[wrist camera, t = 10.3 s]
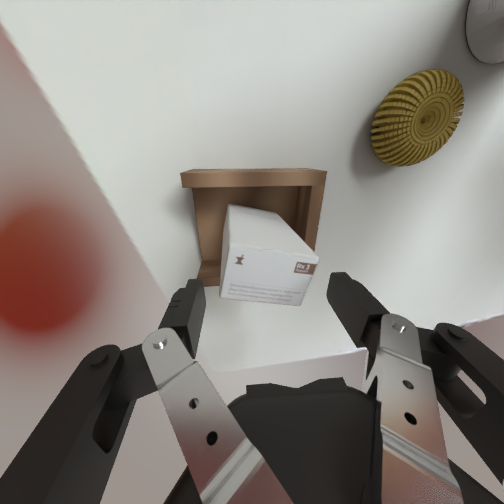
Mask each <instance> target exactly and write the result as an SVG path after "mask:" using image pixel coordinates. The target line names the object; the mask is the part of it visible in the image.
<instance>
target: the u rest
mask: <svg viewBox="0 0 504 504" xmlns="http://www.w3.org/2000/svg"><path fill="white" fill-rule="evenodd" d="M326 174H327V171H321V170H314V169H308V168H297V169H192V170H188V171H185V172H182V173H180V175H181V181H182V188H192V191H193V198H194V205H195V212H196V219H197V227H198V234H199V241H200V248H201V255H202V263H201V267H200V270H199V273H198V277H197V279H202V281H203V286H204V287H207V286H220V281H221V279H220V276H221V260H222V245H223V230H224V224H225V218H226V213H227V207H228V204H229V203H231V204H236V205H241V206H246V207H251V208H255V209H260V210H265V211H270V212H275V213H277V214H278V215H279V216H280V217H281V218H282V219H283V220H284V221H285V222H286V223H287V224H288V226H289V227H290V228H291V229H292V230H293V231H294V232H295V233H296V234H297V235H298V236H299V237H300V238H301V239H302V240H303V241H304V242H305V243H306V244H307V245H308V246H309V247H310V248H311V249H312V251H313V252H314V249H315V243H316V237H317V231H318V224H319V218H320V212H321V205H322V199H323V193H324V187H325V180H326Z"/></svg>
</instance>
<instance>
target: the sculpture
mask: <svg viewBox="0 0 504 504" xmlns="http://www.w3.org/2000/svg"><path fill="white" fill-rule="evenodd" d="M426 83H427V84H426ZM433 84H434V85H433ZM462 95H463V90H462V86H461V84H460V83H459V80H458V79H457V78H456V77H455V76H454V75H453V74H451V73H449V72H448V71H444V70H440V69H438V70H437V69H433V70H432V69H431V70H425V71H422V72H418V73H415V74H414V75H412V76H409V77H408V78H406V79H404V80H403V81H402V82H400V83H399V84H398V85H397V86H395V88H394V89H393V90H391V92H389V93H388V95H387V96H386V97H385V98H384V100H383V101H382V103H381V106H379V108H378V110H377V113H376V114H375V116H374V120H375V121H373V123H372V126H373V127H381V128H376V129H371V133H373V132H378V133H375V134H373V135H372V136H371V140H373V141H372V142H371V144H372V146H373V149H374V152H376V155H377V157H379V159H380V160H381V161H383V162H384V163H386V164H389V165H392V166H410V165H413V164H415V163H416V164H417V163H419V162H421V161H423V160H425V159H427V158H429V157H430V156H432V155H433V154H435V153H436V151H438V150H439V149H440V148H442V146H443V145H444V144H445V143H446V142H447V141H448V139H449V138H450V137H451V136H452V134H453V131H455V129H456V127H457V125H456V124H458V123H459V121H460V118H452V117H457V116H461V115H462V112H458V113H455V112H457V111H459V110H461V109H463V106H464V104H462V103H463V102H464V97H463V96H462ZM386 115H387V116H386ZM380 117H381V118H380ZM382 118H383V119H382ZM383 123H384V124H383ZM391 129H392V130H391ZM432 129H433V130H432ZM379 131H381V132H379ZM379 139H380V140H379ZM378 140H379V141H378ZM377 141H378V142H377Z"/></svg>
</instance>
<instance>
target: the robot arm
mask: <svg viewBox="0 0 504 504" xmlns="http://www.w3.org/2000/svg"><path fill="white" fill-rule="evenodd" d="M466 36H467V40H468V45H469V47H470V49H471V51H472V53H473V55H474V56H475V57H476V58H477V59H478V60H480V61H482V62H485V63H494V64H496V63H500V62H504V0H470V3H469V7H468V13H467V21H466ZM327 299H328V302H329V304H330V305H331V307H332V308H333V310H334V312H335V313H336V315H337V316H338V318H339V320H340V321H341V323H342V324H343V326H344V328H345V329H346V331H347V332H348V334H349V336H350V337H351V339H352V341H353V342H354V344H355V345H356V347H357V348H360V347H366V348H367V349H368V352H367V355H366V363H365V371H364V379H363V386H362V390H361V391H360V390H357V389H355V388H352V387H349V386H347V385H346V383H345V381H344V379H343V378H342V377H340V378H328V379H319V380H316V381H314V382H312V383H309V384H307V385H304V386H302V387H300V388H292V387H287V386H282V385H277V384H272V383H269V384H256V385H247V386H246V391H247V393H246V394H244V395H241V396H240V397H238V398H236V399H235V400H233V401H232V402H231V403H230V404H229V405H228V406H226V404H225V403H224V401H223V399H222V398H221V396H220V395H219V393H218V392H217V390H216V389H215V387H214V386H213V384H212V382H211V381H210V379H209V378H208V376H207V375H206V373H205V372H204V370H203V369H202V367H201V365H200V364H199V363H198V362H197V361H195V362H194V360H193V359H195V356H196V352H197V347H198V342H199V337H200V332H201V327H202V322H203V317H204V313H205V307H206V299H205V293H204V286H203V281H202V279H189V280H188V282H187V285H186V288H180V289H179V290H178V291H176V292H175V293H174V295H173V297H172V299H171V302H170V303H169V306H168V308H167V310H166V312H165V315H164V317H163V319H162V321H161V323H160V325H159V328H158V330H156V331H154V332H152V333H151V334H149V335H148V336H147V338H146V339H145V340H144V342H143V343H142V344H140V345H137V346H134V347H131V348H128V349H125V350H122V351H121V350H120V348H119V347H118V346H116V345H105V346H102V347H100V348H97V349H95V350H94V351H92V352H91V353H89V354H88V355H87V356H86V357H85V358H84V359H83V360H82V361H81V362H80V364H79V365H78V367H77V368H76V370H75V371H74V373H73V374H72V375H71V377H70V378H69V380H68V381H67V383H66V384H65V386H64V387H63V389H62V390H61V391H60V393H59V394H58V396H57V397H56V399H55V400H54V402H53V403H52V404H51V406H50V407H49V409H48V410H47V412H46V413H45V415H44V416H43V418H42V419H41V420H40V422H39V423H38V425H37V426H36V428H35V429H34V431H33V432H32V433H31V435H30V436H29V438H28V439H27V441H26V442H25V444H24V445H23V446H22V448H21V449H20V451H19V452H18V454H17V455H16V457H15V458H14V459H13V461H12V463H11V464H10V465H9V467H8V468H7V470H6V471H5V473H4V474H3V475H2V477H1V478H0V504H100V501H101V499H102V496H103V493H104V490H105V487H106V485H107V482H108V479H109V476H110V473H111V470H112V467H113V465H114V462H115V459H116V456H117V454H118V451H119V448H120V445H121V442H122V439H123V437H124V434H125V431H126V428H127V425H128V423H129V419H130V417H131V414H132V411H133V409H134V405H135V403H136V400H137V399H138V398H141V397H143V396H145V395H148V394H150V393H153V392H155V391H157V390H158V391H159V394H160V397H161V399H162V402H163V404H164V407H165V409H166V412H167V414H168V417H169V420H170V422H171V424H172V426H173V429H174V432H175V435H176V437H177V440H178V442H179V445H180V447H181V450H182V452H183V455H184V457H185V460H186V462H187V467H186V469H185V470H184V472H183V474H182V475H181V477H180V478H179V480H178V481H177V483H176V484H175V486H174V488H173V489H172V491H171V492H170V494H169V496H168V497H167V499H166V500H165V502H164V504H504V503H503V502H502V501H501V500H499V499H498V498H497V497H496V496H494V495H493V494H492V493H491V492H489V491H488V490H487V489H486V488H484V487H483V486H482V485H481V484H479V483H478V482H477V481H476V480H475V479H473V478H472V477H471V476H470V475H468V474H467V473H466V472H465V471H463V470H462V469H461V468H460V467H458V466H457V465H456V464H455V463H453V462H452V461H451V460H450V459H449V458H448V457H447V451H446V446H445V440H444V435H443V429H442V424H441V418H440V413H439V407H438V402H439V403H440V404H441V406H442V407H443V408H444V410H445V411H446V412H447V413H448V415H449V416H450V417H451V419H452V420H453V421H454V423H455V424H456V425H457V426H458V428H459V429H460V431H461V432H462V433H463V434H464V436H465V437H466V438H467V440H468V441H469V442H470V444H471V445H472V446H473V448H474V449H475V450H476V451H477V453H478V454H479V455H480V457H481V458H482V459H483V461H484V462H485V463H486V465H487V466H488V467H489V468H490V470H491V471H492V472H493V474H494V475H495V476H496V478H497V479H498V480H499V482H500V483H501V484H502V486H503V489H504V360H503V359H502V358H500V357H499V356H498V355H497V354H495V353H494V352H493V351H492V350H490V349H489V348H488V347H487V346H485V345H484V344H483V343H482V342H481V341H479V340H478V339H477V338H476V337H474V336H473V335H472V334H471V333H469V332H468V331H466V330H464V329H462V328H460V327H458V326H456V325H453V324H449V323H439V324H437V325H436V327H435V328H434V330H430V329H424V328H419V327H415V325H414V324H413V323H412V322H410V321H409V320H408V319H406V318H404V317H402V316H399V315H396V314H390V313H389V311H388V310H387V309H386V308H385V307H384V306H383V305H382V304H381V303H380V302H379V301H378V300H377V299H376V298H375V297H374V296H373V295H372V294H371V293H370V292H368V290H367V289H366V288H365V287H364V286H363V285H362V284H361V283H359V282H357V281H356V280H352V279H351V278H350V276H349V275H348V274H347V273H346V272H334V273H331V275H330V280H329V284H328V289H327ZM461 369H462V370H463V371H464V372H465V373H466V374H467V375H468V376H469V377H470V378H471V379H472V380H473V381H474V382H475V383H476V384H477V386H479V388H481V390H482V391H483V393H484V394H485V397H486V404H484V403H483V402H482V401H481V400H480V399H479V398H478V397H477V396H476V395H475V394H474V393H473V392H472V391H471V390H470V389H469V387H468V386H467V385H466V384H465V383H464V382H463V381H462V380H461V379H460V378H459V377H458V376H457V374H458V373H459V371H460V370H461ZM437 400H438V402H437Z"/></svg>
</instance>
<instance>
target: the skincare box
mask: <svg viewBox="0 0 504 504" xmlns="http://www.w3.org/2000/svg"><path fill="white" fill-rule="evenodd" d="M318 262H319V257H318V256H317V255H316V254H315V253H314V252H313V251H312V249H311V248H310V247H309V246H308V245H307V244H306V243H305V242H304V241H303V240H302V239H301V238H300V237H299V236H298V235H297V234H296V233H295V232H294V231H293V230H292V229H291V228H290V227H289V226H288V224H287V223H286V222H285V221H284V220H283V219H282V218H281V217H280V216H279V215H278V214H277V213H275V212H270V211H265V210H260V209H255V208H251V207H246V206H241V205H236V204H231V203H229V204H228V207H227V213H226V218H225V224H224V230H223V245H222V260H221V276H220V279H221V281H220V290H219V296H220V298H223V299H234V300H245V301H255V302H265V303H274V304H284V305H294V306H300V305H301V303H302V300H303V298H304V296H305V293H306V291H307V288H308V286H309V283H310V281H311V279H312V276H313V274H314V271H315V269H316V266H317V264H318Z"/></svg>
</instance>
